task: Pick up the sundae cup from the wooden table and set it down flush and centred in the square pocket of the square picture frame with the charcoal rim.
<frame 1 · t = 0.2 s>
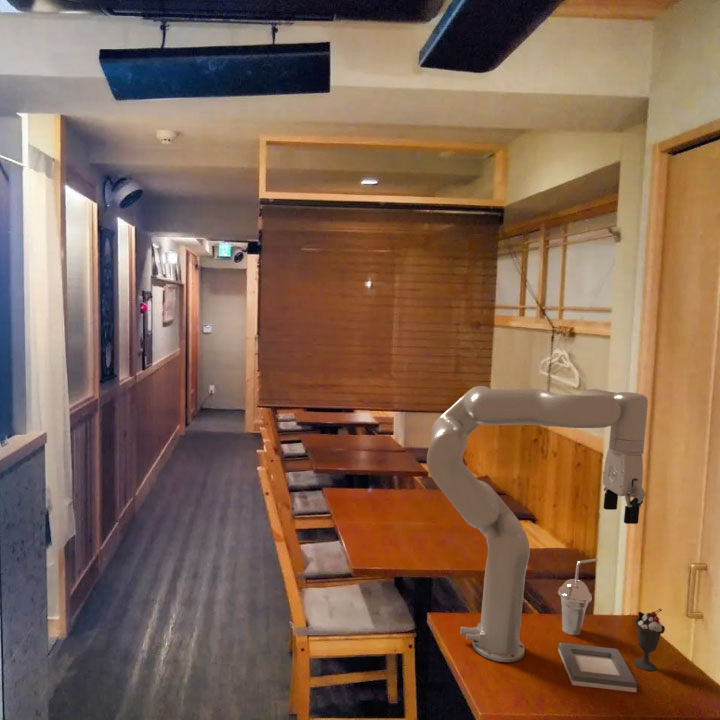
hand: (620, 516, 150), 36 cm above the table, tool pointing down, fingers open, 9 cm apart
sundae: (645, 665, 153), on the table
square picture frame: (595, 670, 149), on the table
cup with straw: (572, 631, 167), on the table
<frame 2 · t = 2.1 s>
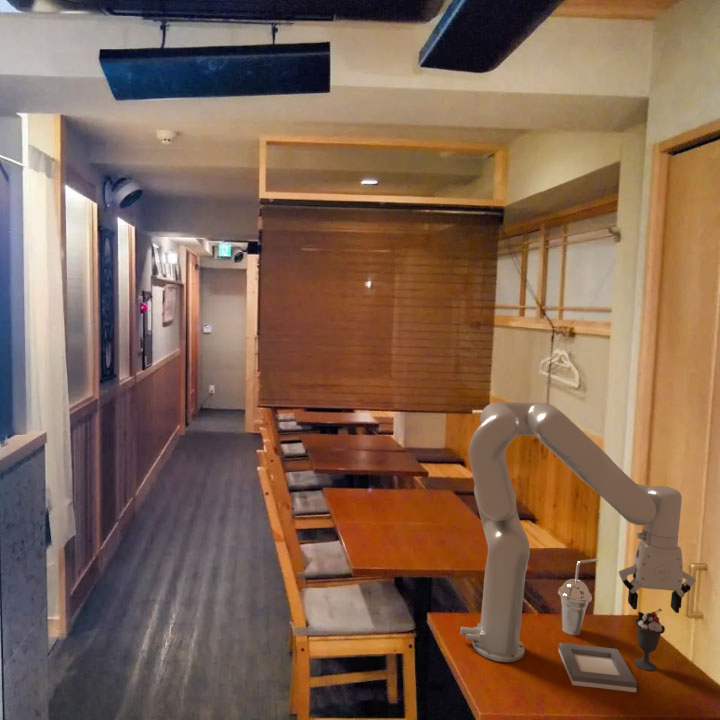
hand: (653, 608, 152), 14 cm above the table, tool pointing down, fingers open, 9 cm apart
nothing on the table moved.
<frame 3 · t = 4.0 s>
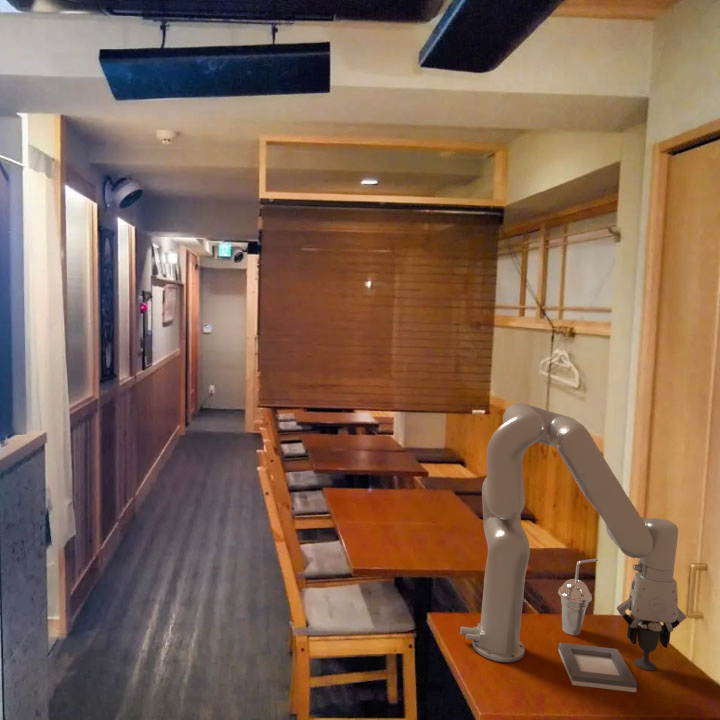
hand: (647, 642, 152), 6 cm above the table, tool pointing down, fingers closed on sundae, 6 cm apart
sundae: (645, 665, 153), on the table, touching gripper
everything else where it was.
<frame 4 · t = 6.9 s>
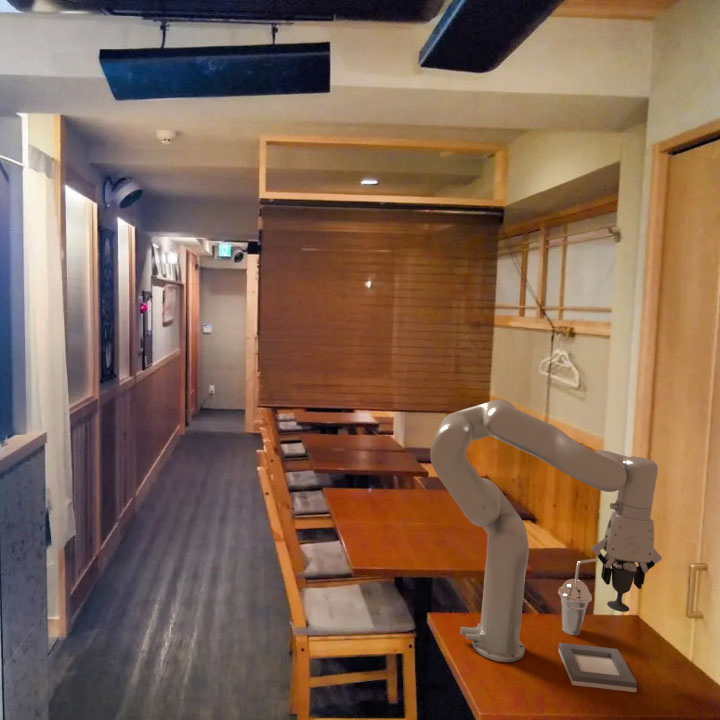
hand: (621, 583, 149), 21 cm above the table, tool pointing down, fingers closed on sundae, 6 cm apart
sundae: (618, 607, 149), point 15 cm above the table, touching gripper
everything else where it was.
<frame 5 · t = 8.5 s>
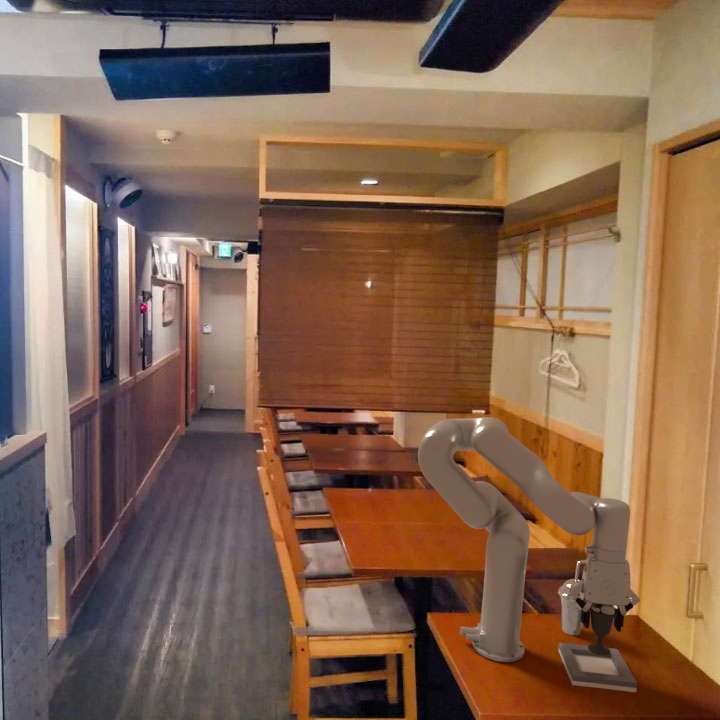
hand: (601, 626, 148), 11 cm above the table, tool pointing down, fingers closed on sundae, 6 cm apart
sundae: (599, 650, 148), point 5 cm above the table, touching gripper
everything else where it was.
when the fingers open (7 cm above the table, at t = 9.8 s): sundae stays where it is, resting on square picture frame.
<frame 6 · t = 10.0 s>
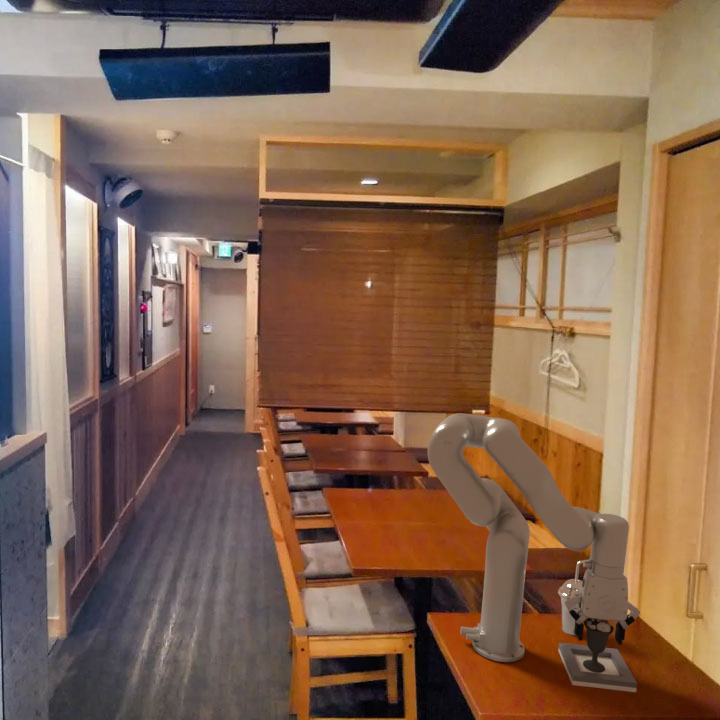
hand: (598, 639, 148), 8 cm above the table, tool pointing down, fingers open, 8 cm apart
sundae: (594, 667, 149), point 1 cm above the table, touching square picture frame
everything else where it was.
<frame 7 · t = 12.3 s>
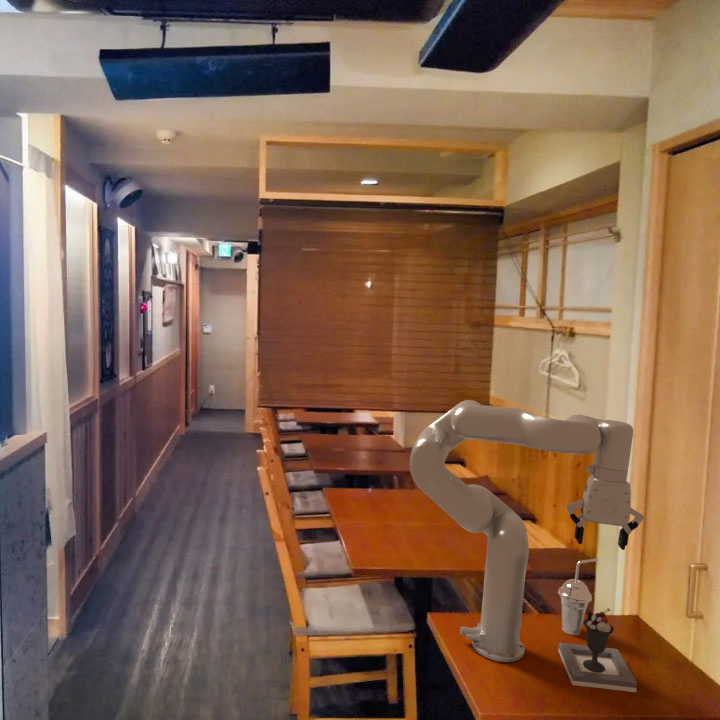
hand: (599, 544, 149), 30 cm above the table, tool pointing down, fingers open, 9 cm apart
nothing on the table moved.
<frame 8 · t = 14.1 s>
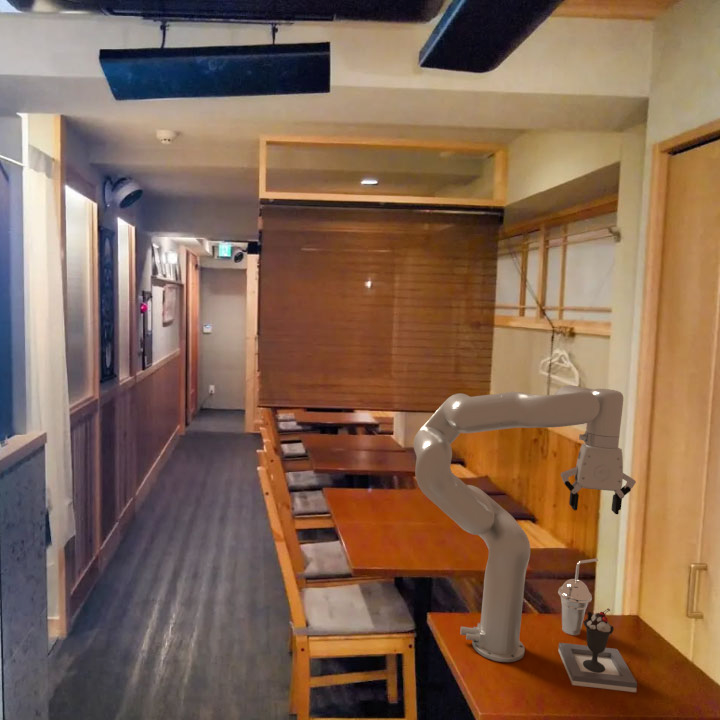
hand: (594, 510, 153), 36 cm above the table, tool pointing down, fingers open, 9 cm apart
nothing on the table moved.
at the end: sundae 0.4 cm off-centre on the square picture frame, point 0.8 cm above the square picture frame's base; sundae tilted 0°; the gripper is holding nothing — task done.
